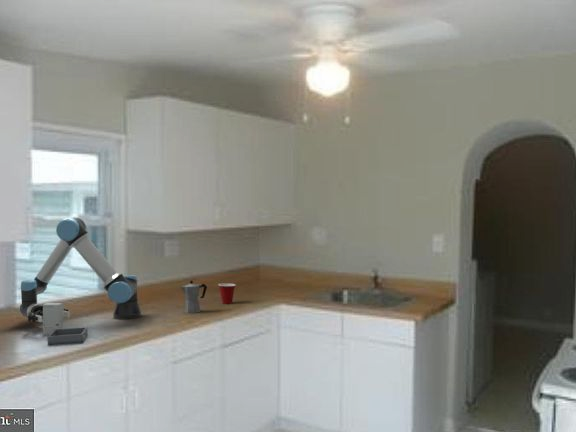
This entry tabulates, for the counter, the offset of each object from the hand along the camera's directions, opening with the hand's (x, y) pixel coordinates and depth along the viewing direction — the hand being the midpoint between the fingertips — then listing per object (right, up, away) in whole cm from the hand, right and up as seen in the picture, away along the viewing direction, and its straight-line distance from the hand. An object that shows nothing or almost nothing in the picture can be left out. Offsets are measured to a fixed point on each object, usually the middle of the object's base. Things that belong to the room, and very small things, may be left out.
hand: (55, 317), depth 284 cm
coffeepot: (+60, -6, +48) cm, 78 cm away
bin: (+11, -9, -13) cm, 20 cm away
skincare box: (-2, -9, +2) cm, 9 cm away
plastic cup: (+77, -4, +72) cm, 106 cm away
